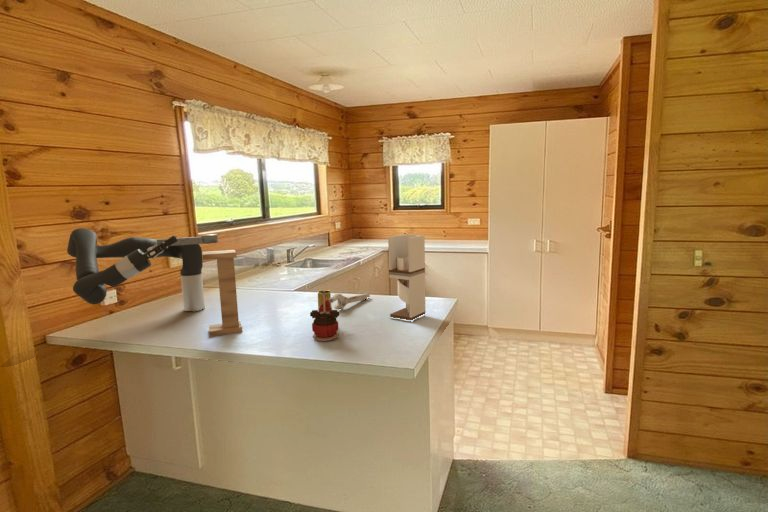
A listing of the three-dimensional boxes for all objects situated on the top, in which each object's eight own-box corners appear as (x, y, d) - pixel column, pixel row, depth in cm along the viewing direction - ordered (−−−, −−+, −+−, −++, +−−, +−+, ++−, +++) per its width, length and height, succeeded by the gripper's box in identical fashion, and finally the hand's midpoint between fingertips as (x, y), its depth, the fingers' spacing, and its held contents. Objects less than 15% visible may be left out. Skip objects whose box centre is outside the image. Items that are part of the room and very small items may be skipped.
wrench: (369, 304, 220) (334, 312, 194) (366, 304, 221) (331, 312, 195) (370, 288, 220) (335, 294, 194) (367, 288, 221) (332, 294, 195)
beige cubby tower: (404, 312, 194) (403, 234, 188) (425, 315, 187) (424, 235, 182) (390, 318, 184) (388, 237, 179) (411, 322, 178) (409, 238, 173)
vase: (321, 328, 173) (319, 294, 171) (316, 324, 178) (314, 291, 176) (335, 326, 176) (333, 292, 174) (330, 322, 181) (328, 289, 179)
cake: (309, 342, 158) (306, 294, 155) (314, 334, 167) (312, 288, 164) (338, 342, 157) (336, 293, 154) (341, 333, 166) (339, 288, 164)
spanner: (158, 245, 163) (157, 237, 162) (217, 241, 171) (217, 233, 170) (156, 247, 157) (156, 239, 157) (218, 242, 165) (217, 235, 165)
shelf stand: (209, 330, 175) (202, 251, 171) (240, 325, 180) (234, 249, 175) (209, 336, 167) (202, 254, 163) (242, 331, 172) (236, 252, 167)
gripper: (142, 269, 165) (183, 244, 170) (137, 275, 152) (181, 248, 157) (129, 253, 163) (170, 228, 167) (123, 258, 150) (168, 230, 154)
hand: (175, 237), depth 162 cm, fingers closed on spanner, 3 cm apart
